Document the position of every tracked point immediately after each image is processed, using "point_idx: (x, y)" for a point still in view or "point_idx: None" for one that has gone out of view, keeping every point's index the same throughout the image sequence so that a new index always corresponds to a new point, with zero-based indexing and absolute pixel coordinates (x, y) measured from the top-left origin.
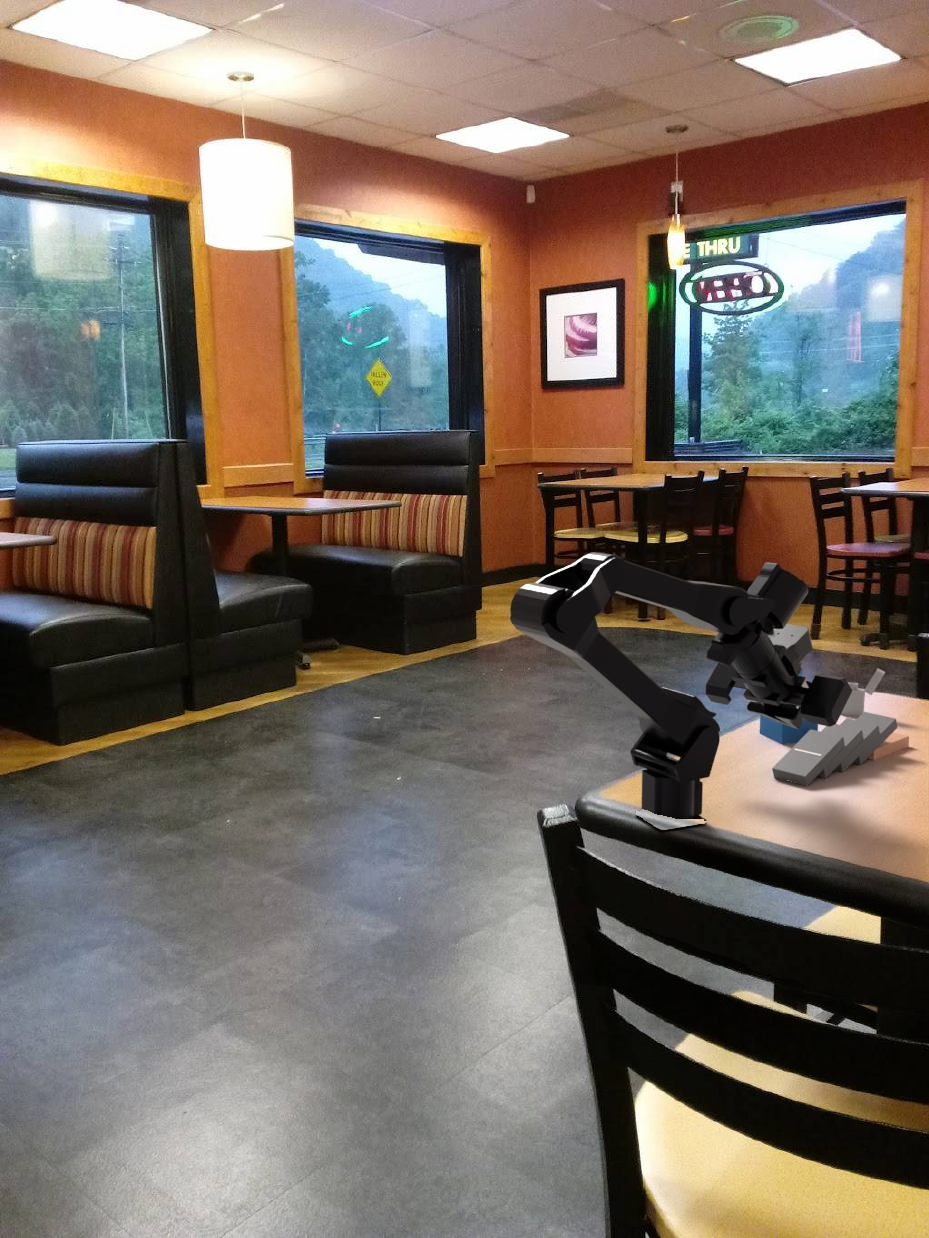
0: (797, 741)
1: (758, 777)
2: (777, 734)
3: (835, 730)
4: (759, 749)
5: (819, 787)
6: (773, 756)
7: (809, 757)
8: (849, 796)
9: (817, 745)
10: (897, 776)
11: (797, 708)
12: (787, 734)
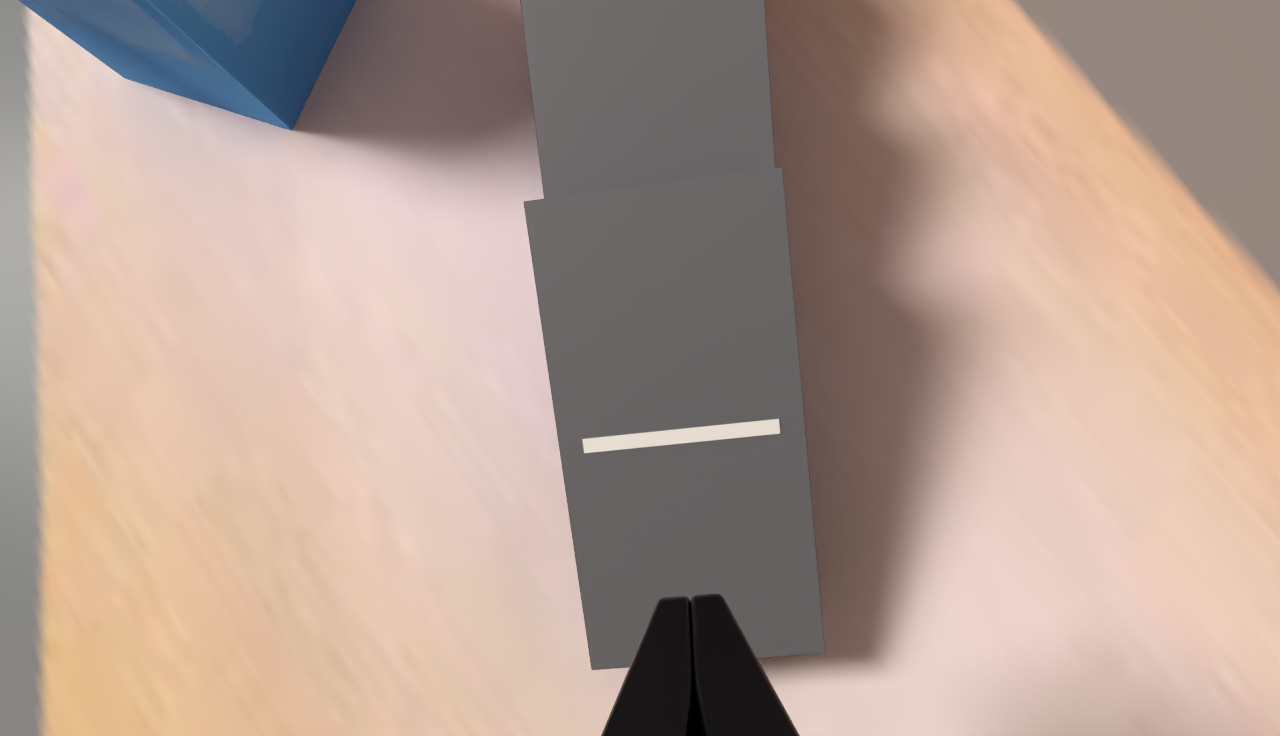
0: (326, 47)
1: (541, 694)
2: (230, 95)
3: (610, 50)
4: (264, 282)
5: (861, 570)
6: (378, 320)
7: (724, 478)
8: (1064, 572)
9: (687, 341)
10: (972, 100)
11: None
12: (275, 71)
